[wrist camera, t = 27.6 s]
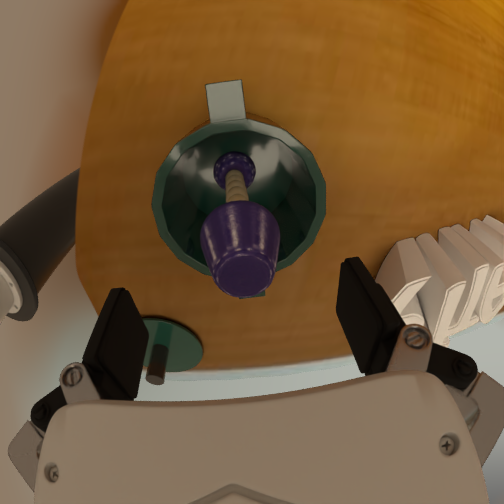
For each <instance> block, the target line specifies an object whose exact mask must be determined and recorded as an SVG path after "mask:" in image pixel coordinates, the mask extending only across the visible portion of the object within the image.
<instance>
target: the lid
mask: <svg viewBox="0 0 504 504" xmlns="http://www.w3.org/2000/svg"><path fill="white" fill-rule="evenodd" d="M142 320H143V322H144V324H145V326H146V328H147V330H148V332H149V340H148V345H147V349H146V354H145V358H144V363H143V365H144V366H146V367H148V368H147V373H146V380H147V381H148V382H149V383H151V384H154V385H162V384H163V383H164V379H165V373H166V372H181V371H186V370H189V369H191V368H193V367H195V366H196V365H197V364H198V363H199V362H200V361H201V359H202V355H203V348H202V345H201V343H200V341H199V339H198V338H197V337H196V336H195V335H194V334H193V333H192V332H191V331H189V330H188V329H186V328H185V327H183V326H181V325H179V324H177V323H174V322H171V321H168V320H164V319H158V318H142Z"/></svg>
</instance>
